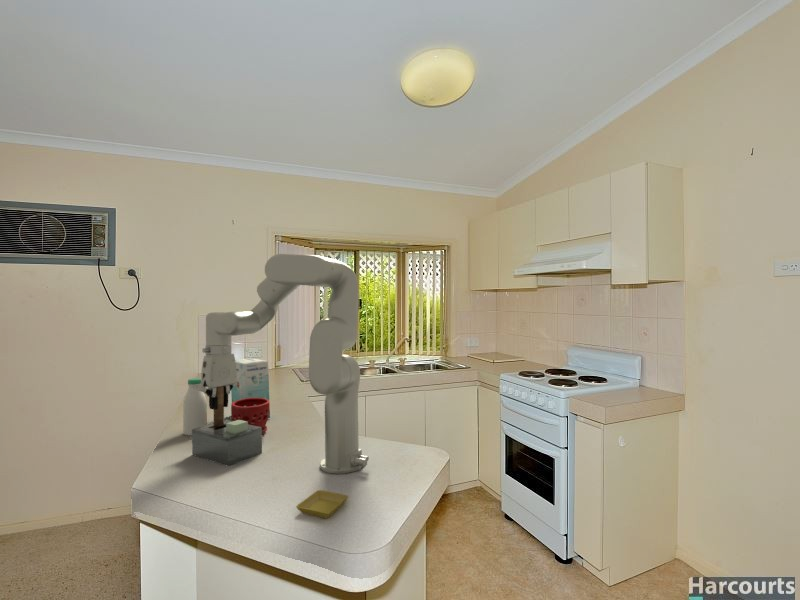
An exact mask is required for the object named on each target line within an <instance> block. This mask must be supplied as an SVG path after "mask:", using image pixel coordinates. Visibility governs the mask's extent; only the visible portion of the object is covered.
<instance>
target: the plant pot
mask: <svg viewBox="0 0 800 600" xmlns="http://www.w3.org/2000/svg"><path fill="white" fill-rule="evenodd" d="M230 404H231V405H230V406H231V407H230V414H231V416H230V417H231V421H236V420H242V421H247V422H248V424H249V425H253V426H258V427H262V435H263V434H265V433H266V432H267V430H268V427H267V423H268V420H269V418H268V416H269V407H270V404H271V403H270V399H269V400H268V399H264V398H246V399H241V400H237V401H235V402H233V403H232V402H231V403H230ZM245 405H246V407H244V406H245ZM254 405H257V406H254Z"/></svg>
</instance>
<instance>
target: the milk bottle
mask: <svg viewBox="0 0 800 600" xmlns="http://www.w3.org/2000/svg"><path fill="white" fill-rule="evenodd" d="M200 384H201V377H196V378H189V379H188V380H187V386H188V390H187V392H186V395H185V397H184V400H183V414H182V415H183V422H182V424H183V426H182V428H183V435H184V436H186V435H188V436H190V437H192V429H195V428H199V427H202V426H206V425H208V419H207V418H208V412H207V411H208V409H207V408H208V406H207V397H206V395H205V393H204V392H202V391H199V390H198V388H199V386H200Z"/></svg>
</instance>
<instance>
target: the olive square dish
mask: <svg viewBox="0 0 800 600" xmlns="http://www.w3.org/2000/svg"><path fill="white" fill-rule="evenodd" d="M349 497H350V496H349V495H347V494H343V493H338V492H337V493H336V492H331V491H327V490H321V489H318V490H315V492H313V493H311V494H310V495H309V496H308V497H306V498H305V499H304V500H303V501H301V502H300V503H298V504H297V505H296V508H297V510H299V511H300V512H301V513H302V514H304V515H305V514H306V515H310V516H315V517H319V518H322V519H323V518H324V519H328V518H330V517H331V516H332V515H333V514H334V513H335V512H336V511H338V510H339V509H340V508H341V507H343V505H344V504H345V503H346V502H347V500H348V498H349Z"/></svg>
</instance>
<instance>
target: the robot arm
mask: <svg viewBox="0 0 800 600" xmlns="http://www.w3.org/2000/svg"><path fill="white" fill-rule="evenodd" d="M264 265H265V266H264V274H265V278H264V279H263V280H262V281H261V282H260V283H259V284H258V285H257V286H256V292H257V295H258V297H259V298H260V300H259V302H258V303H257V304H256V305H255V306H254V307H253V308H251V309H250V310H247V311H246V310H244V311H239V310H238V311H227V312H224V311H223V312H218V311H217V312H215V311H214V312H208V313H207V314H206V316H205V347H204V348H202V353H203V354H204V353H205V355H204V356H203V359H202V364H201V372H200V373H201V375H200V376H201V377H200V378H201V384H200V386H199V388H198V390H199V391H202V392H203V393H204V395H205V394H206V396H207V397H208V407H209V409H210V410H213V411H214V410H216V409H217V408H218V398H217V397H216V388H217V387H222V386H224V408H228V407H229V406H228V405H229V395H230V394H231V389H232V388H233V387H234V386H235V385H237V383H238V382H237V370H236V361H235V360H236V358H235V354H234V353H232V336H233V337H234V336H242V335H252V334H257V332H259V331H261V330H262V329H263V328H265V326H267V325H268V323H270V322H271V321H272V320H273V319H274V317H275V316H276V314H277V312H278V308H279V305H280V304H282V302H284V300H285V299H287V297H289V296H290V295H291V294H292V293H293V292H294V291H295V290H296V289H298V288H299V287H300V286H308V287H318V288H319V287H320V288H328V289H330V290H331V292H330V296H329V299H328V304H327V305H328V308H327V309H328V310H327V311H328V313H327V318H324V319H321V320H319V321H318V322H317V323H316V324H315V325H314V326H313V328H312V330H311V333H310V337H309V350H308V351H309V353H308V356H309V357H308V380H309V383H310V385H311V388H312V389H313V390H314V391H315V392H316V393H317V394H319V395H325V398H324V439H325V440H324V453H325V454H324V455H325V457H324V458H323V459H321V461H319V468H320V470H321V471H323V472H325V473H328V474H334V475H335V474H337V475H339V474H343V475H344V474H349V473H354V472H356V471H358V470H360V469H362V468H364V467H366V466H367V465H368V461H369V456H367V455H363V453H362V452H363V451H362V448H359V446H360V445H359V389H360V381H361V369H360V365H359V363H358V361H357V360H356V359H355V358H354V357H353V356H350V355H348V354H343V353H344V352H343V351H346V350H349V349H351V348H353V347H354V346H355V345H356V343H357V340H358V320H359V318H358V316H359V309H358V308H359V293H360V291H359V289H360V287H359V285H360V284H359V280H358V276H357V274H356V273H355V271H354V270H353V268H352V267H350V266H349V265H347V264H346V263H344V262H342V261H340V260H337V259H333V258H330V257H325V256H322V255H316V254H295V253H294V254H293V253H291V254H290V253H289V254H287V253H277V254H274V255H271V256H270V258H269V259H268V260H267V261H266V263H265V264H264Z"/></svg>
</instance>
